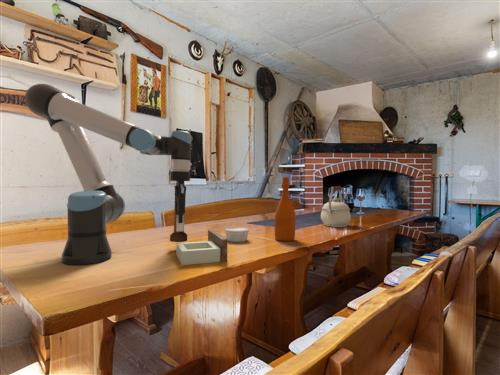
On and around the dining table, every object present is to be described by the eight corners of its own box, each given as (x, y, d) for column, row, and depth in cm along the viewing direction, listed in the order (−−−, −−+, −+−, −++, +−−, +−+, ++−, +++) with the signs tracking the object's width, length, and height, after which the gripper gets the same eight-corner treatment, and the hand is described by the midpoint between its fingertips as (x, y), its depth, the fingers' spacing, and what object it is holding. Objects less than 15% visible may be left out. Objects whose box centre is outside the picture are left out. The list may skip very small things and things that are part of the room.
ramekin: (236, 236, 146) (236, 226, 146) (253, 240, 139) (253, 229, 139) (220, 240, 138) (220, 229, 138) (237, 244, 131) (238, 232, 130)
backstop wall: (221, 262, 101) (221, 239, 100) (207, 249, 119) (208, 229, 119) (227, 262, 101) (227, 239, 101) (212, 249, 120) (212, 229, 120)
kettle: (327, 222, 202) (328, 185, 201) (354, 224, 191) (356, 186, 191) (312, 226, 182) (313, 186, 181) (342, 230, 171) (343, 187, 170)
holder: (181, 265, 96) (181, 251, 96) (176, 255, 108) (176, 243, 108) (220, 261, 101) (220, 248, 101) (211, 252, 113) (211, 240, 113)
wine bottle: (298, 239, 142) (299, 177, 142) (289, 242, 134) (291, 176, 133) (280, 236, 148) (281, 176, 147) (270, 240, 139) (271, 176, 139)
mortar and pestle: (171, 242, 112) (172, 195, 112) (168, 239, 118) (169, 194, 118) (189, 241, 115) (190, 195, 115) (185, 238, 121) (186, 194, 121)
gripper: (194, 171, 110) (192, 233, 110) (186, 171, 125) (185, 226, 126) (173, 170, 107) (171, 234, 107) (168, 170, 123) (167, 226, 123)
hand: (179, 230), depth 117 cm, fingers closed on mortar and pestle, 4 cm apart
